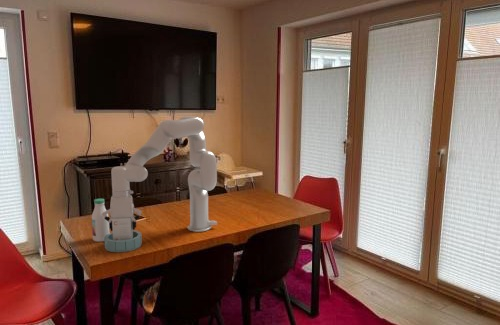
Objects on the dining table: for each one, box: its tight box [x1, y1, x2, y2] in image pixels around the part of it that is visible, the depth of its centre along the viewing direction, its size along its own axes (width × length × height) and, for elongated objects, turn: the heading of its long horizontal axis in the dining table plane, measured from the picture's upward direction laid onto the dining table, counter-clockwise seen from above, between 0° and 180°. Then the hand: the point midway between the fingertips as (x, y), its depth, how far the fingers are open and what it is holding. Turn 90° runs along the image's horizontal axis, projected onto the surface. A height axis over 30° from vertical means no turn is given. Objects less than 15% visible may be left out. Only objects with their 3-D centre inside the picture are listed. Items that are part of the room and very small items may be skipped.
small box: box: [112, 218, 133, 241], centre depth 174 cm, size 8×6×13 cm
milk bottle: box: [91, 198, 111, 243], centre depth 182 cm, size 8×8×20 cm
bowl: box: [103, 229, 143, 253], centre depth 175 cm, size 16×16×5 cm
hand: (123, 229), depth 174 cm, fingers open, 9 cm apart
